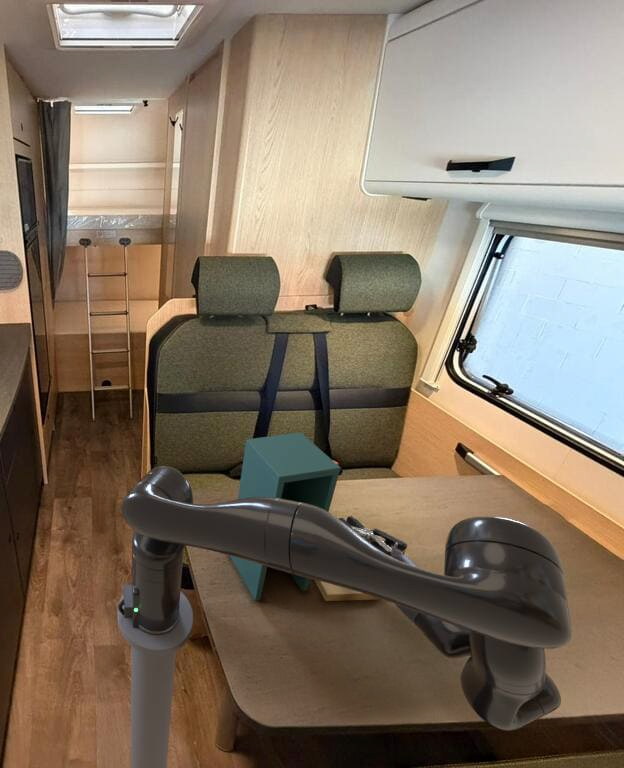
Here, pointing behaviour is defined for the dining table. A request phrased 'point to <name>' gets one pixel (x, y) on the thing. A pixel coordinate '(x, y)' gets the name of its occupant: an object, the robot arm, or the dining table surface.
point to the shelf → (284, 486)
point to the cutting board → (340, 593)
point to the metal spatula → (363, 533)
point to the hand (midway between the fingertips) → (343, 520)
